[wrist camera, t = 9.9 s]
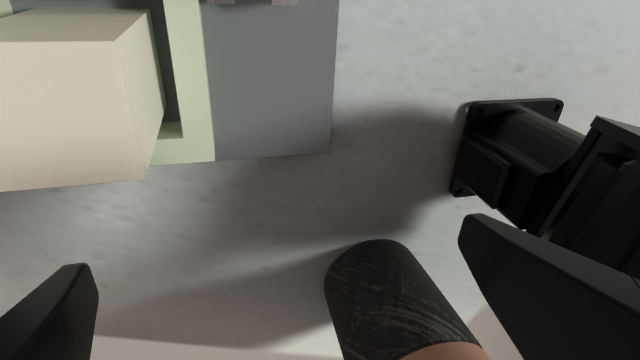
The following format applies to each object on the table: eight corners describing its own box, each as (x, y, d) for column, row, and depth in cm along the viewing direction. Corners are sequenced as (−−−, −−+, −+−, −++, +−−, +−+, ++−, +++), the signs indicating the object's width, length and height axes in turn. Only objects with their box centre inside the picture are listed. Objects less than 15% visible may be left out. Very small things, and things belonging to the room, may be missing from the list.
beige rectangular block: (150, 8, 15) (114, 41, 9) (166, 104, 17) (145, 179, 11) (37, 7, 14) (-80, 42, 9) (68, 108, 16) (-10, 192, 11)
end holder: (194, -45, 15) (193, -45, 13) (214, 142, 19) (215, 160, 17) (-51, -57, 13) (-90, -59, 11) (29, 154, 17) (9, 175, 15)
